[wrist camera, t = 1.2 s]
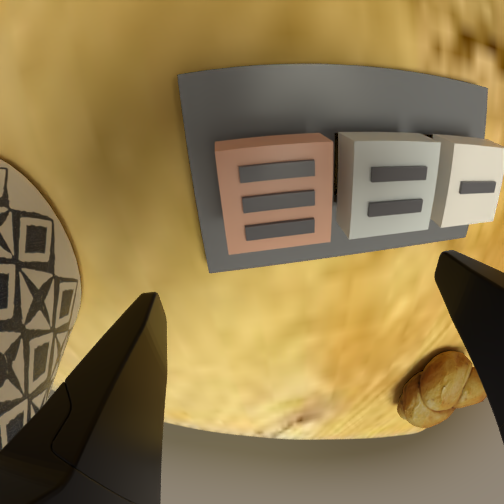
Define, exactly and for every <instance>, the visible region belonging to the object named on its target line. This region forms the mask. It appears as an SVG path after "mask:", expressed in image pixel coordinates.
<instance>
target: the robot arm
mask: <svg viewBox="0 0 504 504" xmlns="http://www.w3.org/2000/svg"><path fill="white" fill-rule="evenodd" d="M435 281H436V284H437V286H438V288H439V290H440V293H441V295H442V297H443V300H444V302H445V304H446V307H447V309H448V311H449V314H450V316H451V318H452V321H453V323H454V325H455V327H456V329H457V331H458V333H459V335H460V337H461V339H462V341H463V343H464V345H465V347H466V349H467V351H468V353H469V356H470V358H471V360H472V362H473V364H474V367H475V369H476V371H477V373H478V376H479V378H480V380H481V383H482V385H483V388H484V390H485V392H486V395H487V398H488V400H489V403H490V405H491V408H492V410H493V413H494V416H495V419H496V422H497V425H498V427H499V431H500V434H501V437H502V440H503V443H504V273H503V272H501V271H499V270H497V269H494V268H492V267H490V266H488V265H486V264H484V263H481V262H479V261H477V260H475V259H472V258H470V257H468V256H466V255H463V254H461V253H459V252H456V251H454V250H449V251H444V252H442V253H441V254H440V257H439V260H438V264H437V267H436V271H435ZM166 384H167V321H166V315H165V312H164V309H163V306H162V303H161V300H160V297H159V295H158V293H156V292H149V293H142V294H141V295H140V296H139V297H138V298H137V299H136V300H135V301H134V302H133V303H132V305H131V306H130V307H129V308H128V309H127V310H126V311H125V312H124V313H123V314H122V315H121V317H120V318H119V319H118V320H117V321H116V322H115V323H114V324H113V325H112V327H111V328H110V329H109V330H108V331H107V332H106V333H105V334H104V335H103V337H102V338H101V339H100V340H99V341H98V342H97V343H96V345H95V346H94V347H93V348H92V349H91V350H90V351H89V353H88V354H87V355H86V356H85V357H84V358H83V359H82V361H81V362H80V363H79V364H78V365H77V366H76V368H75V369H74V370H73V371H72V372H71V373H70V375H69V376H68V377H67V378H66V379H65V382H63V383H62V384H61V385H60V386H59V388H58V389H57V390H56V391H55V392H54V394H53V395H52V396H51V397H50V398H49V399H48V401H47V402H46V403H45V404H44V405H43V406H42V407H41V408H40V410H39V411H38V412H37V413H36V414H35V415H34V416H33V417H32V418H31V419H30V420H29V421H28V422H27V423H26V424H25V425H24V426H23V427H22V429H21V430H20V431H19V432H18V433H17V434H16V435H15V436H14V437H13V438H12V439H11V440H10V441H9V442H8V443H7V444H6V445H5V446H4V447H3V448H2V449H1V450H0V504H160V491H161V459H162V458H161V457H162V439H163V423H164V408H165V396H166Z"/></svg>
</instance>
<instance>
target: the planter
mask: <svg viewBox="0 0 504 504" xmlns="http://www.w3.org/2000/svg"><path fill="white" fill-rule="evenodd" d="M80 303H81V281H80V274H79V269H78V265H77V260H76V257H75V255H74V252H73V249H72V246H71V243H70V241H69V239H68V237H67V235H66V233H65V231H64V229H63V227H62V224H61V223H60V221H59V219H58V218H57V216H56V215H55V213H54V211H53V210H52V208H51V206H50V205H49V204H48V202H47V201H46V200H45V199H44V197H43V196H42V195H41V193H40V192H39V191H38V190H37V189H36V188H35V187H34V186H33V185H32V183H31V182H30V181H29V180H28V179H27V178H26V177H25V176H24V175H22V174H21V173H20V172H18V171H17V170H16V169H15V168H13V167H12V166H11V165H10V164H8V163H6V162H4V161H2V160H1V159H0V450H1V449H2V448H3V447H4V446H5V445H6V444H7V443H8V442H9V441H10V440H11V439H12V438H13V437H14V436H15V435H16V434H17V433H18V432H19V431H20V430H21V429H22V427H23V426H24V425H25V424H26V423H27V422H28V421H29V420H30V419H31V418H32V417H33V416H34V415H35V414H36V413H37V412H38V411H39V410H40V408H41V407H42V406H43V405H44V404H45V403H46V402H47V401H48V398H49V394H50V391H51V388H52V385H53V382H54V379H55V376H56V373H57V370H58V367H59V364H60V361H61V358H62V355H63V353H64V350H65V347H66V344H67V342H68V339H69V337H70V334H71V331H72V329H73V326H74V323H75V321H76V318H77V315H78V312H79V309H80Z"/></svg>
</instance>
